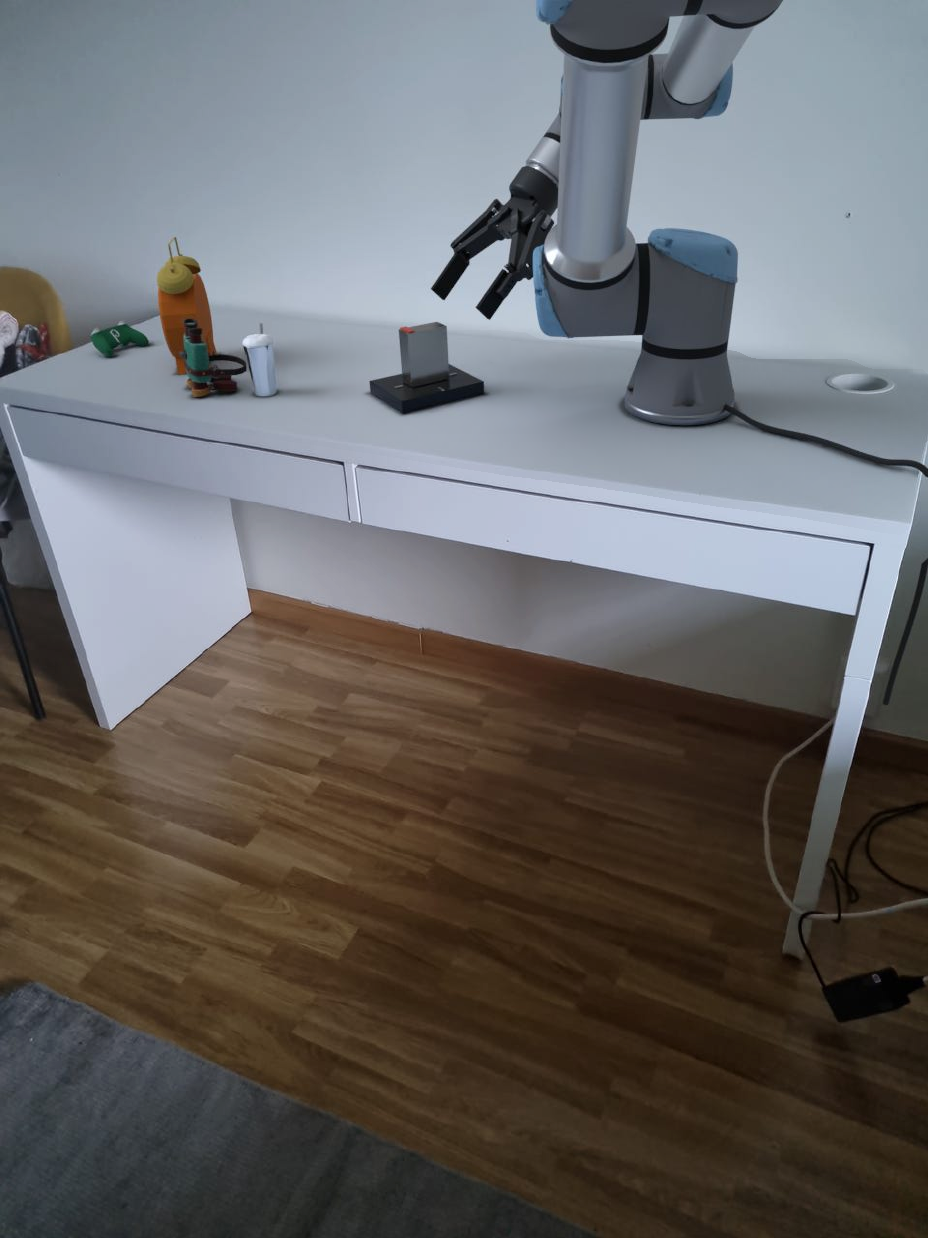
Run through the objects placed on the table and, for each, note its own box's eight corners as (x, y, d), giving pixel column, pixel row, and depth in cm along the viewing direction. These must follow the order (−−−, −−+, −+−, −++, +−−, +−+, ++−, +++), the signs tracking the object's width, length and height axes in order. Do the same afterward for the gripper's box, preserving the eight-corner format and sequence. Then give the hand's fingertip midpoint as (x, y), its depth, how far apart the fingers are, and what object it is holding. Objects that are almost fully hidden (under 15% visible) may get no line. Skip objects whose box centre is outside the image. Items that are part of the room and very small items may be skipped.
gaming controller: (145, 352, 166) (125, 327, 166) (151, 340, 164) (131, 313, 163) (103, 366, 160) (83, 340, 160) (108, 353, 157) (87, 326, 157)
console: (448, 375, 144) (448, 361, 142) (484, 394, 135) (484, 380, 134) (370, 393, 138) (369, 379, 137) (402, 414, 130) (401, 399, 129)
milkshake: (285, 386, 142) (275, 322, 137) (276, 398, 138) (265, 332, 132) (257, 386, 143) (246, 322, 137) (247, 398, 138) (236, 333, 133)
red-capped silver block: (439, 373, 138) (436, 319, 133) (449, 378, 136) (446, 324, 131) (402, 382, 135) (398, 327, 131) (411, 387, 133) (407, 332, 129)
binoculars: (247, 328, 136) (180, 330, 132) (252, 396, 141) (187, 400, 138) (236, 314, 143) (171, 316, 139) (241, 379, 148) (179, 383, 144)
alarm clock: (184, 353, 159) (158, 233, 148) (219, 351, 159) (196, 231, 148) (172, 377, 148) (143, 249, 137) (209, 374, 148) (184, 247, 137)
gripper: (610, 209, 124) (519, 338, 126) (513, 189, 142) (436, 301, 144) (580, 171, 119) (486, 306, 121) (484, 155, 137) (404, 272, 139)
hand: (459, 304), depth 133 cm, fingers open, 13 cm apart
